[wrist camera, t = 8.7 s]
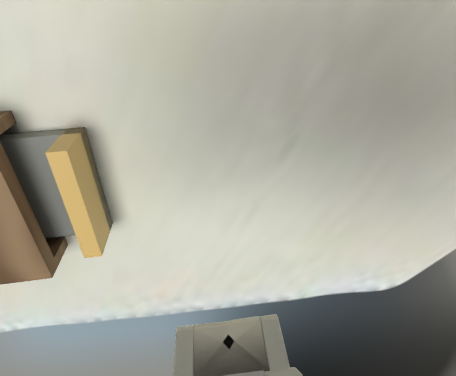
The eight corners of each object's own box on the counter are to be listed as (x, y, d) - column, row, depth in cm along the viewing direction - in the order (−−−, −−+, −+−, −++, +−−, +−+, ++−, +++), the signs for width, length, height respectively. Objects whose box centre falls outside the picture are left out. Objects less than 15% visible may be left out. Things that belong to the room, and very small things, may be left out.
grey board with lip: (85, 126, 28) (66, 150, 24) (113, 221, 33) (101, 256, 29) (-51, 138, 27) (-95, 165, 23) (-1, 234, 33) (-30, 270, 28)
